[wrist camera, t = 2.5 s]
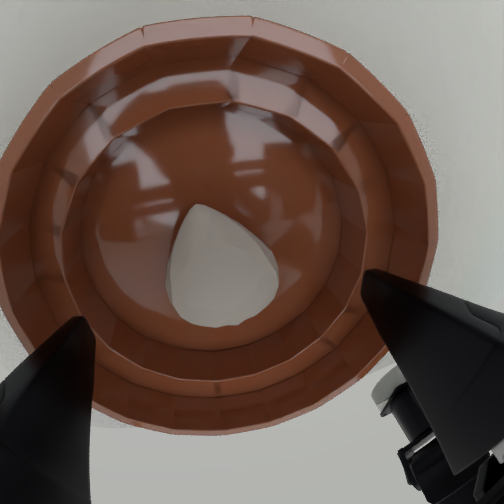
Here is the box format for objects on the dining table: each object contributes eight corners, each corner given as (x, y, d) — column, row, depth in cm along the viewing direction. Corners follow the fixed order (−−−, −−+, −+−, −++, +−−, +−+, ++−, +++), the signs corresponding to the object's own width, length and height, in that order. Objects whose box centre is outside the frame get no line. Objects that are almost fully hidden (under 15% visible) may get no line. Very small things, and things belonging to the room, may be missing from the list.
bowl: (351, 337, 16) (385, 389, 12) (111, 378, 14) (102, 440, 10) (373, 69, 9) (449, 61, 5) (20, 110, 7) (-50, 117, 3)
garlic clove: (186, 312, 12) (187, 352, 10) (142, 212, 10) (128, 239, 8) (276, 284, 12) (294, 319, 10) (250, 177, 10) (268, 194, 8)
